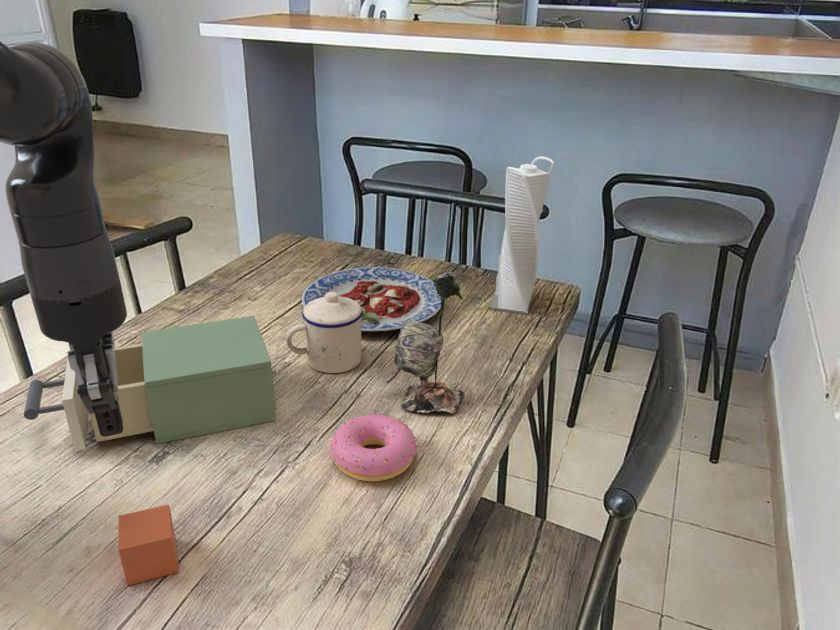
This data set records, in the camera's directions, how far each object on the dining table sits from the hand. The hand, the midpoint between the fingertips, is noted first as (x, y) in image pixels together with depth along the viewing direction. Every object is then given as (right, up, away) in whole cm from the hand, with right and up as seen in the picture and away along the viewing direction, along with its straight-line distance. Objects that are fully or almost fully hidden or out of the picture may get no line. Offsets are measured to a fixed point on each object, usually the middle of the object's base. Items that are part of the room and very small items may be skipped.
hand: (112, 431), depth 70 cm
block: (+4, -14, +1) cm, 15 cm away
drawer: (-9, -2, +22) cm, 24 cm away
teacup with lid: (+17, +4, +37) cm, 41 cm away
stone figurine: (+33, -1, +29) cm, 43 cm away
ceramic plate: (+23, +13, +55) cm, 61 cm away
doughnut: (+26, -7, +17) cm, 32 cm away
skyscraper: (+49, +14, +56) cm, 76 cm away
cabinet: (+2, -1, +26) cm, 27 cm away
